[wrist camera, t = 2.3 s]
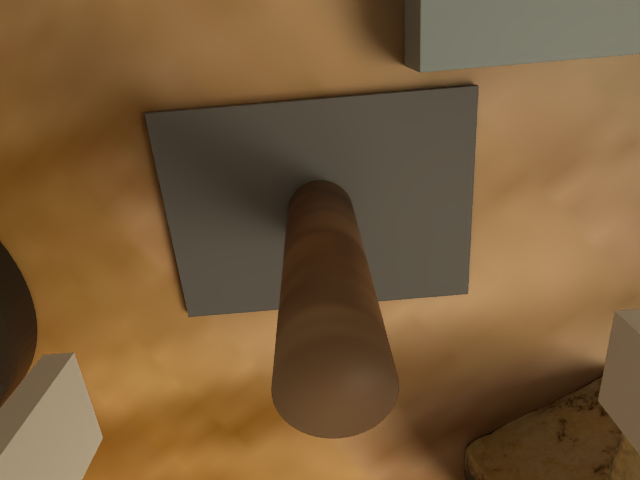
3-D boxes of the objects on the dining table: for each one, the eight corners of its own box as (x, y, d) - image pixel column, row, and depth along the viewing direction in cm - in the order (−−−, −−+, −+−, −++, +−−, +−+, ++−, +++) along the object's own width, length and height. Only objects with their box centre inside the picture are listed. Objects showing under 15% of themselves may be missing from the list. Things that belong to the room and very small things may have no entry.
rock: (670, 347, 24) (476, 400, 23) (795, 548, 20) (564, 621, 19) (579, 394, 33) (439, 434, 33) (651, 537, 29) (492, 586, 28)
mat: (190, 312, 25) (188, 317, 25) (146, 112, 21) (144, 113, 21) (465, 289, 25) (467, 293, 25) (475, 84, 21) (478, 85, 21)
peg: (291, 244, 23) (278, 443, 12) (284, 183, 22) (263, 342, 11) (354, 239, 23) (399, 433, 12) (351, 177, 22) (398, 331, 11)
